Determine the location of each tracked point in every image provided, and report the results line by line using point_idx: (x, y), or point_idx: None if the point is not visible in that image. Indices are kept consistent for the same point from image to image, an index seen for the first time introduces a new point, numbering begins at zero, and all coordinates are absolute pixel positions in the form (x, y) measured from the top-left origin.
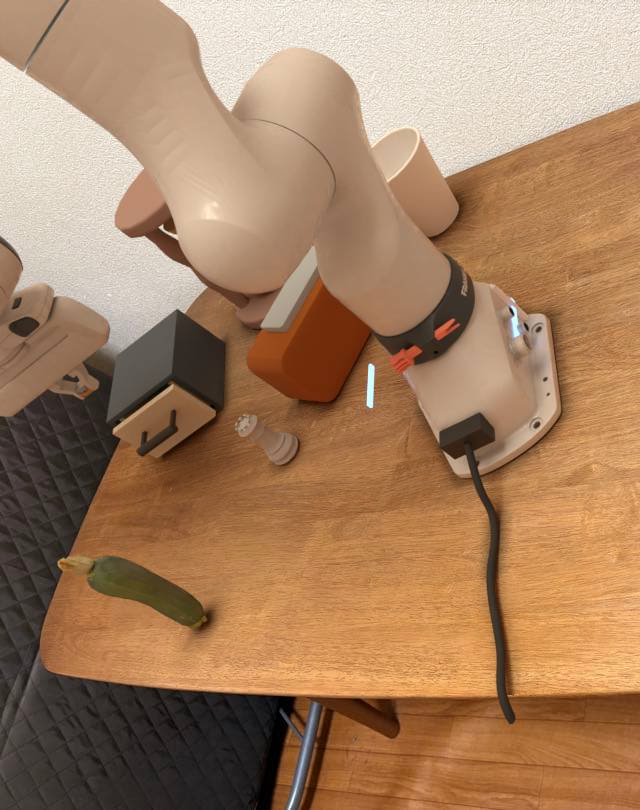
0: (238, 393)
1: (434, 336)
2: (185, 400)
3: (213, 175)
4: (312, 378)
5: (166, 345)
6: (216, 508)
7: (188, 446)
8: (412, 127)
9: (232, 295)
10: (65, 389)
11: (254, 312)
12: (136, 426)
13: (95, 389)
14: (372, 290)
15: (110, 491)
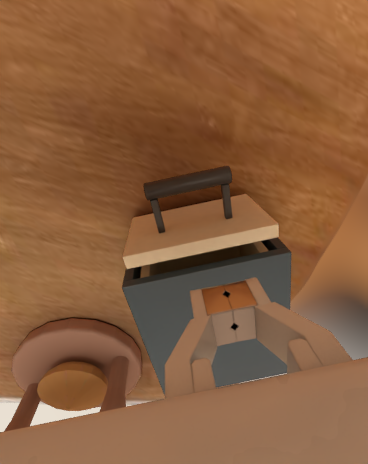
0: (109, 243)
1: None
2: (132, 239)
3: None
4: None
5: (165, 348)
6: (74, 11)
7: (191, 194)
8: None
9: (111, 377)
10: (281, 326)
11: (94, 343)
12: (231, 225)
13: (194, 290)
14: None
15: (345, 183)
